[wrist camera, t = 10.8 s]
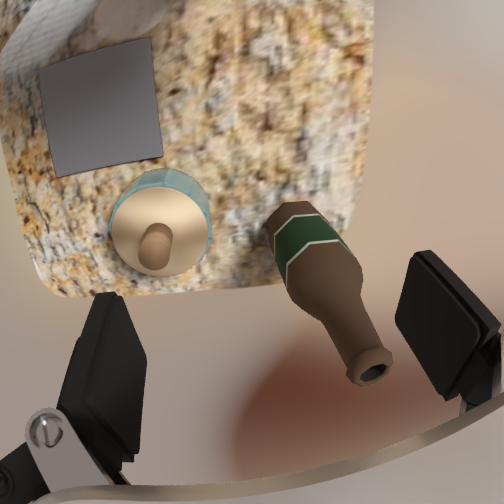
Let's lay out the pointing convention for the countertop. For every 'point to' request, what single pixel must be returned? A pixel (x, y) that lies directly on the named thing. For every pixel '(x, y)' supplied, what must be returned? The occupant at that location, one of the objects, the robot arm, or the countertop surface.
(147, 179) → the bowl
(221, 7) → the countertop surface
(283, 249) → the beer bottle
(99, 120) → the mat
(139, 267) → the lid
